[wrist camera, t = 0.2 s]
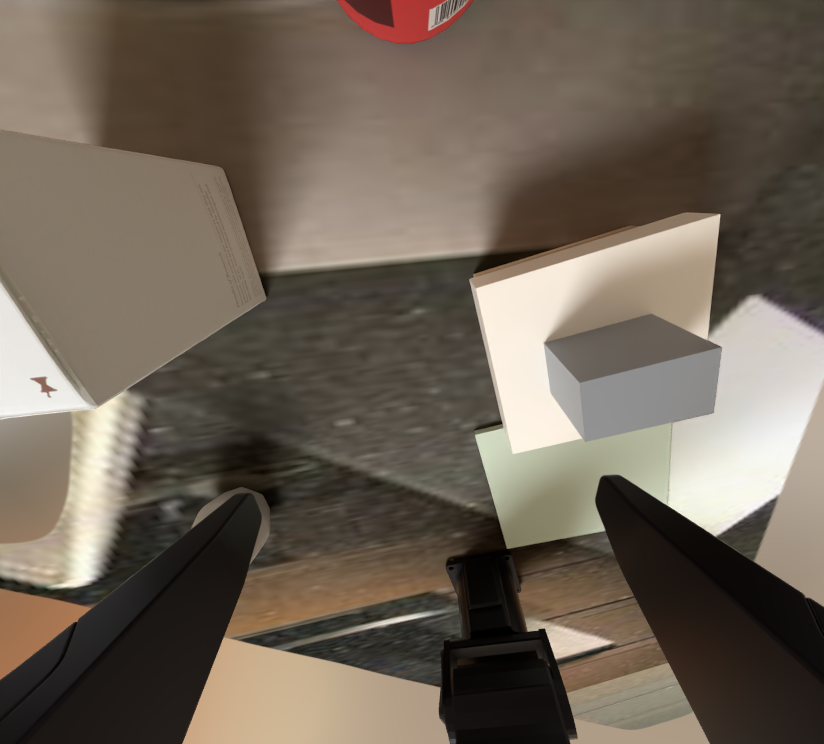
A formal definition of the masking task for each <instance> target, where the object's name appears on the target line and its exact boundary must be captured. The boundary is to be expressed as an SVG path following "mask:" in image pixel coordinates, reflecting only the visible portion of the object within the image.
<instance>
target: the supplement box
mask: <svg viewBox="0 0 824 744" xmlns="http://www.w3.org/2000/svg"><path fill="white" fill-rule="evenodd" d="M265 300H266V296H265V292H264V289H263V286H262V283H261V280H260V277H259V274H258V271H257V268H256V265H255V262H254V258H253V255H252V252H251V249H250V246H249V243H248V240H247V237H246V234H245V231H244V228H243V225H242V222H241V219H240V216H239V213H238V210H237V207H236V204H235V201H234V198H233V195H232V192H231V189H230V186H229V183H228V181H227V178H226V175H225V173H224V170H223V169H222V168H221V167H219V166H214V165H208V164H203V163H197V162H191V161H185V160H179V159H172V158H167V157H161V156H155V155H149V154H144V153H138V152H132V151H126V150H119V149H113V148H107V147H100V146H95V145H89V144H83V143H77V142H71V141H65V140H59V139H52V138H46V137H41V136H35V135H29V134H23V133H18V132H12V131H6V130H0V419H5V418H11V417H22V416H30V415H39V414H49V413H58V412H68V411H77V410H91V409H96V408H98V407H99V406H101V405H102V404H104V403H106V402H107V401H109V400H110V399H112V398H114V397H115V396H117V395H118V394H120V393H121V392H123V391H125V390H126V389H128V388H129V387H131V386H132V385H134V384H135V383H137V382H139V381H140V380H142V379H143V378H145V377H146V376H148V375H149V374H151V373H152V372H154V371H155V370H157V369H159V368H160V367H162V366H163V365H165V364H166V363H168V362H169V361H171V360H173V359H174V358H176V357H177V356H179V355H180V354H182V353H184V352H185V351H187V350H188V349H190V348H191V347H193V346H194V345H196V344H197V343H199V342H201V341H202V340H204V339H205V338H207V337H208V336H210V335H211V334H213V333H215V332H216V331H218V330H219V329H221V328H222V327H224V326H225V325H227V324H228V323H230V322H232V321H233V320H235V319H236V318H238V317H239V316H241V315H242V314H244V313H246V312H247V311H249V310H250V309H252V308H253V307H255V306H256V305H258V304H260V303H261V302H263V301H265Z"/></svg>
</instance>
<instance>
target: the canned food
mask: <svg viewBox="0 0 824 744" xmlns="http://www.w3.org/2000/svg"><path fill="white" fill-rule="evenodd" d="M337 1H338V3H339V4H340V5H341V7H342V8H343V9H344V11H345V12H346V13H347V15H348V16H349V17H350V18H351V19H352V20H353V21H355V22H356V23H357V24H358V25H359V26H360V27H361V28H362V29H364V30H365V31H367V32H369V33H371V34H372V35H374V36H376V37H378V38H380V39H383V40H387V41H390V42H394V43H416V42H419V41H423V40H427V39H429V38H431V37H433V36H435V35H437V34H438V33H440V32H442V31H444V30H445V29H447V28H448V27H449V26H450V25H451V24H453V23H454V22H455V21H456V20H457V19H458V18H459V17H461V16H462V15H463V13H464V12H465V11H466V9H467V8H468V7H469V6H470V4H471V3H472V2H473V1H474V0H337Z"/></svg>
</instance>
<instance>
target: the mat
mask: <svg viewBox="0 0 824 744" xmlns="http://www.w3.org/2000/svg"><path fill="white" fill-rule="evenodd" d="M671 430H672V423H668V424H663V425H659V426H654V427H650V428H645V429H641V430H636V431H632V432H627V433H623V434H619V435H614V436H610V437H605V438H601V439H596V440H592V441H587V442H585V441H584V440H583V438H582V439H578V440H573V441H569V442H565V443H560V444H556V445H551V446H547V447H542V448H538V449H534V450H529V451H525V452H520V453H516V454H513V453H512V451H511V448H510V445H509V443H508V440H507V438H506V435H505V432H504V428H503V424H500V425H496V426H492V427H488V428H484V429H480V430H475V431H474V433H475V437H476V440H477V444H478V447H479V451H480V454H481V458H482V461H483V465H484V468H485V472H486V476H487V479H488V483H489V486H490V490H491V493H492V497H493V500H494V504H495V507H496V511H497V515H498V518H499V522H500V525H501V529H502V532H503V536H504V539H505V543H506V546H507V549H509V548H515V547H520V546H526V545H531V544H536V543H542V542H547V541H553V540H558V539H563V538H569V537H574V536H580V535H585V534H591V533H596V532H601V531H605V528H604V526H603V523H602V521H601V518H600V516H599V513H598V511H597V508H596V504H595V496H596V492H597V488H598V484H599V480H600V477H601V476H603V475H614V474H617V475H621V476H623V477H624V478H626V479H627V480H629V481H630V482H632V483H633V484H635V485H637V486H638V487H640V488H641V489H643V490H644V491H646V492H647V493H649V494H650V495H652V496H653V497H655V498H657V499H658V500H660V501H661V502H663V503H664V504H666V505H667V497H668V480H669V463H670V446H671Z"/></svg>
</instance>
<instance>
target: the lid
mask: <svg viewBox="0 0 824 744" xmlns="http://www.w3.org/2000/svg"><path fill="white" fill-rule="evenodd" d="M719 223H720V214H709V213H687V212H685V213H681V214H678V215H675V216H672V217H669V218H665V219H662V220H659V221H656V222H652V223H649V224H646V225H643V226H639V227H636V228H633V229H630V230H626V231H623V232H620V233H617V234H614V235H610V236H607V237H604V238H601V239H597V240H594V241H591V242H588V243H584V244H581V245H578V246H575V247H572V248H568V249H565V250H562V251H559V252H555V253H552V254H549V255H546V256H542V257H539V258H536V259H533V260H529V261H526V262H523V263H520V264H517V265H513V266H510V267H507V268H504V269H500V270H497V271H494V272H491V273H487V274H484V275H481V276H478V277H475V278H471V279H469V280H470V284H471V289H472V293H473V297H474V302H475V306H476V310H477V315H478V319H479V323H480V328H481V332H482V336H483V341H484V345H485V349H486V354H487V358H488V363H489V367H490V371H491V376H492V380H493V384H494V389H495V393H496V397H497V402H498V406H499V410H500V415H501V419H502V423H503V428H504V432H505V435H506V438H507V440H508V443H509V445H510V448H511V451H512V453H513V454H516V453H520V452H525V451H529V450H534V449H538V448H542V447H547V446H551V445H556V444H560V443H565V442H569V441H573V440H578V439H582V438H583V440H584V441H585V442H587V441H592V440H596V439H601V438H605V437H610V436H614V435H619V434H623V433H627V432H632V431H636V430H641V429H645V428H650V427H654V426H659V425H663V424H668V423H672V422H677V421H681V420H685V419H690V418H694V417H699V416H703V415H708V414H712V413H714V405H715V398H716V390H717V382H718V374H719V366H720V359H721V351H722V347H720V346H718V345H716V344H714V343H712V342H710V341H708V340H707V338H708V328H709V319H710V309H711V299H712V290H713V280H714V271H715V261H716V252H717V242H718V233H719Z"/></svg>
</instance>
